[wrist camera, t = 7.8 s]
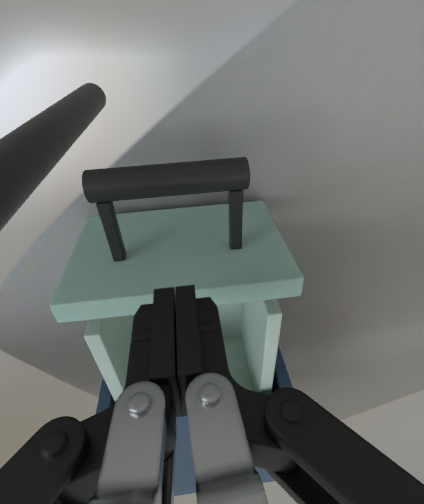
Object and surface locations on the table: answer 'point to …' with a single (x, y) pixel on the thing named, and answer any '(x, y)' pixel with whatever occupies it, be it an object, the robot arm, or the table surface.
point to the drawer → (179, 264)
